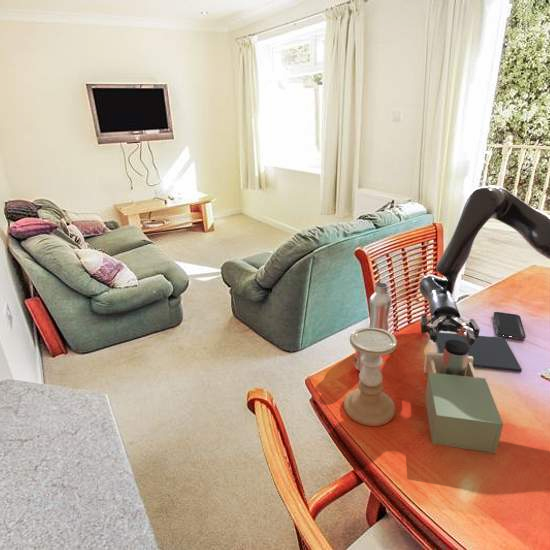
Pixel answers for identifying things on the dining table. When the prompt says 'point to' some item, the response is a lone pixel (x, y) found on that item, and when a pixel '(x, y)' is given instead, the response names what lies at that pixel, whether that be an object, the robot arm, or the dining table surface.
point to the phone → (509, 325)
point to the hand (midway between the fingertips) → (453, 340)
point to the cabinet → (462, 412)
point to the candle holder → (371, 378)
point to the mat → (485, 351)
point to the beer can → (358, 360)
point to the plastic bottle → (380, 307)
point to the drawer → (435, 363)
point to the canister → (455, 358)
